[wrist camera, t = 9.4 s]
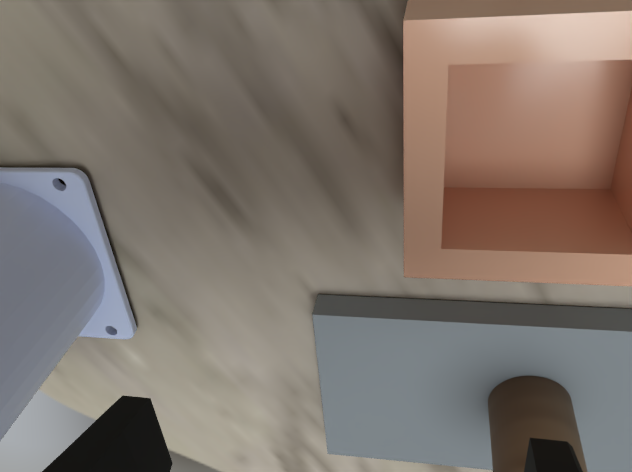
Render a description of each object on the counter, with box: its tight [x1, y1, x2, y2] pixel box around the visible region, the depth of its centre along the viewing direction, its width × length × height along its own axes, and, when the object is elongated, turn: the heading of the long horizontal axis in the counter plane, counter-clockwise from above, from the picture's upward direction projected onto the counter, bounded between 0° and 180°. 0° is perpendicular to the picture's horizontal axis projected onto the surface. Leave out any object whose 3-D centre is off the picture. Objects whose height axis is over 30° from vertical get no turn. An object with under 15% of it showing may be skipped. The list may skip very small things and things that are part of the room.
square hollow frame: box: [403, 0, 632, 286], centre depth 16 cm, size 7×7×4 cm
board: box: [312, 294, 632, 472], centre depth 23 cm, size 16×8×1 cm, turn 95°
